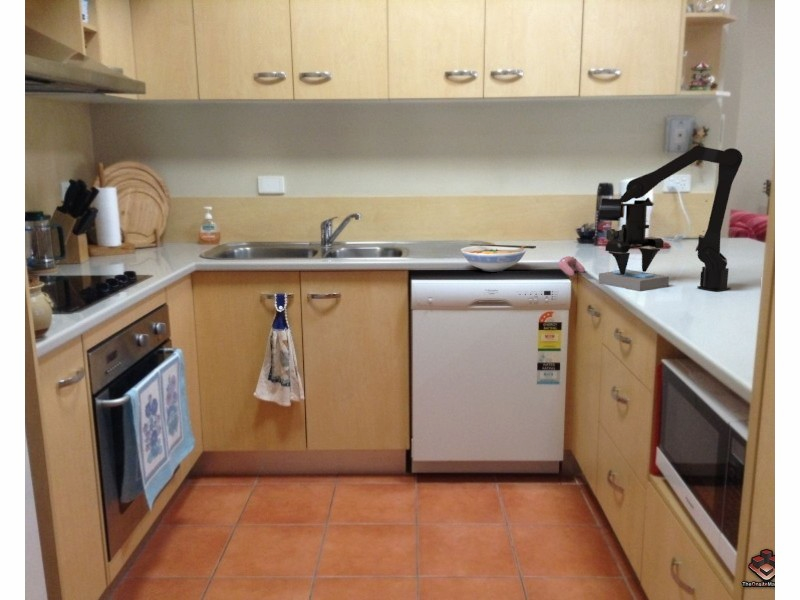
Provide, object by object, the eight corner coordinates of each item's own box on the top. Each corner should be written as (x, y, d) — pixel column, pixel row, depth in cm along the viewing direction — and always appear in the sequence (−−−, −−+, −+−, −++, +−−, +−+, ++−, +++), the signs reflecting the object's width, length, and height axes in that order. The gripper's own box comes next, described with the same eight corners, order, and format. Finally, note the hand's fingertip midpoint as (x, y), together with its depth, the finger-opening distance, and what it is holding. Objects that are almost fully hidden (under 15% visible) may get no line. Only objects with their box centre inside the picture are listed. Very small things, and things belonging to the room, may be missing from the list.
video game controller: (575, 276, 226) (566, 257, 227) (586, 271, 223) (578, 252, 224) (562, 280, 219) (554, 261, 219) (574, 275, 216) (565, 255, 216)
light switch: (668, 286, 196) (668, 276, 196) (639, 291, 191) (640, 280, 190) (626, 278, 210) (626, 269, 210) (598, 282, 205) (598, 273, 204)
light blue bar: (622, 281, 207) (622, 268, 206) (653, 287, 196) (654, 274, 195) (612, 282, 205) (613, 270, 204) (644, 288, 194) (644, 275, 194)
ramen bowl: (446, 272, 230) (445, 249, 229) (476, 263, 249) (476, 241, 247) (512, 278, 217) (512, 253, 215) (539, 267, 235) (539, 244, 234)
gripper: (636, 217, 208) (634, 266, 211) (592, 221, 199) (590, 272, 202) (666, 219, 198) (663, 271, 201) (621, 224, 189) (618, 278, 193)
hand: (633, 273), depth 200 cm, fingers open, 9 cm apart
